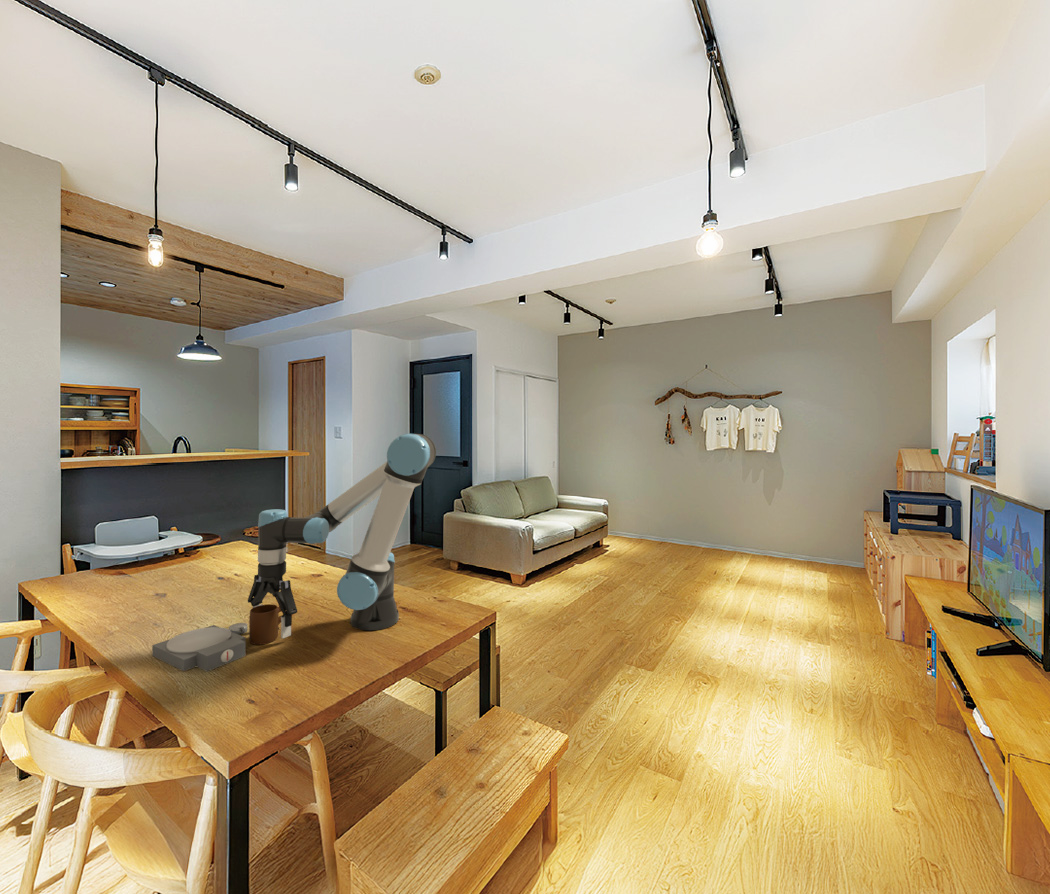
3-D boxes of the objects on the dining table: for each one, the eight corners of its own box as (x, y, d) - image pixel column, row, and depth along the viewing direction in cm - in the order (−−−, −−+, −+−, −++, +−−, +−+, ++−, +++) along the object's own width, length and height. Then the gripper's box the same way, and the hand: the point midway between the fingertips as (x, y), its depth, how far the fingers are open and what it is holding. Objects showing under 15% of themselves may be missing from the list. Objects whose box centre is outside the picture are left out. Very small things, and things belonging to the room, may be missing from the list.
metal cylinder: (250, 631, 149) (250, 625, 149) (234, 637, 144) (234, 630, 144) (241, 627, 151) (241, 621, 151) (224, 633, 147) (224, 627, 147)
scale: (256, 651, 135) (256, 638, 135) (195, 676, 121) (195, 661, 121) (213, 634, 145) (213, 621, 145) (152, 655, 131) (152, 641, 131)
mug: (285, 627, 152) (285, 598, 151) (297, 634, 147) (297, 604, 147) (244, 640, 142) (244, 608, 142) (256, 647, 138) (256, 615, 137)
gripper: (310, 565, 141) (309, 636, 142) (258, 552, 153) (258, 618, 154) (287, 571, 135) (286, 646, 135) (235, 558, 147) (234, 626, 147)
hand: (271, 631), depth 145 cm, fingers open, 13 cm apart
